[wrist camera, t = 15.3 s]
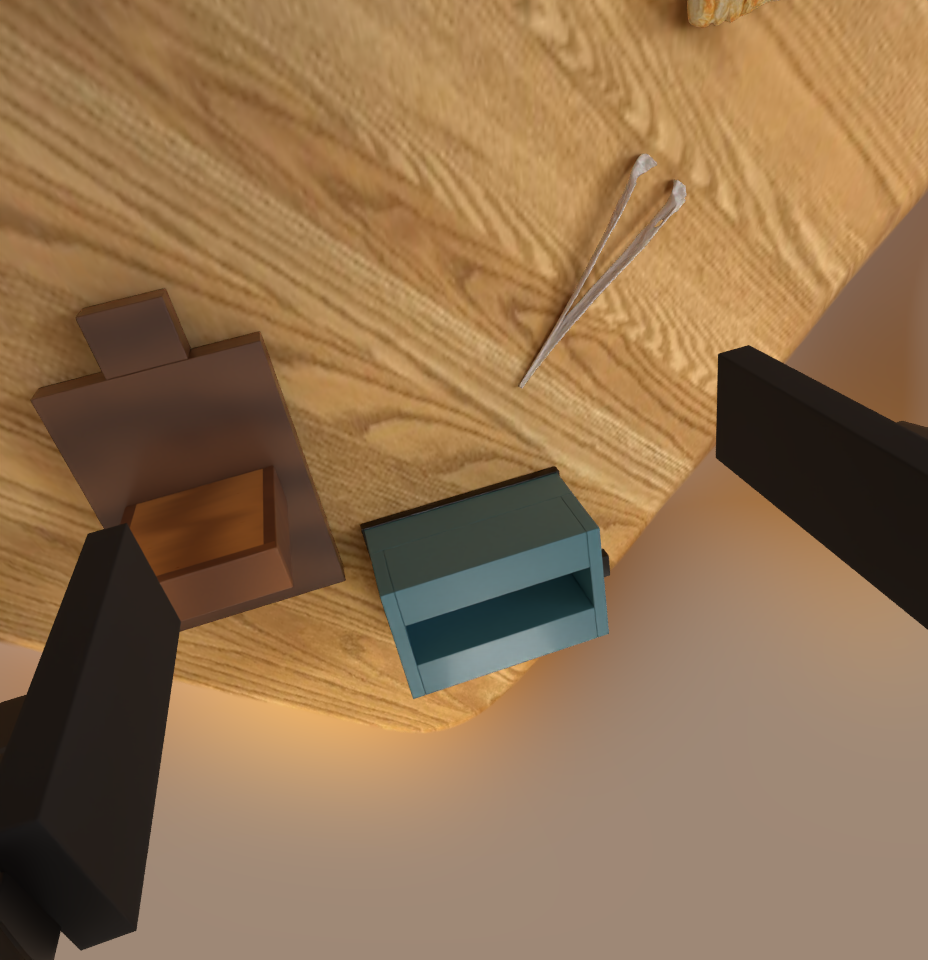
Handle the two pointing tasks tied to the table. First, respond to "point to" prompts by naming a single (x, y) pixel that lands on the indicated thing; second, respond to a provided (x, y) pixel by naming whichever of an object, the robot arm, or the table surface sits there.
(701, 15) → the croissant
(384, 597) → the toaster
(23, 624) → the table surface
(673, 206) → the tweezers
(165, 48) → the table surface
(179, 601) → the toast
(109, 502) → the bread board
